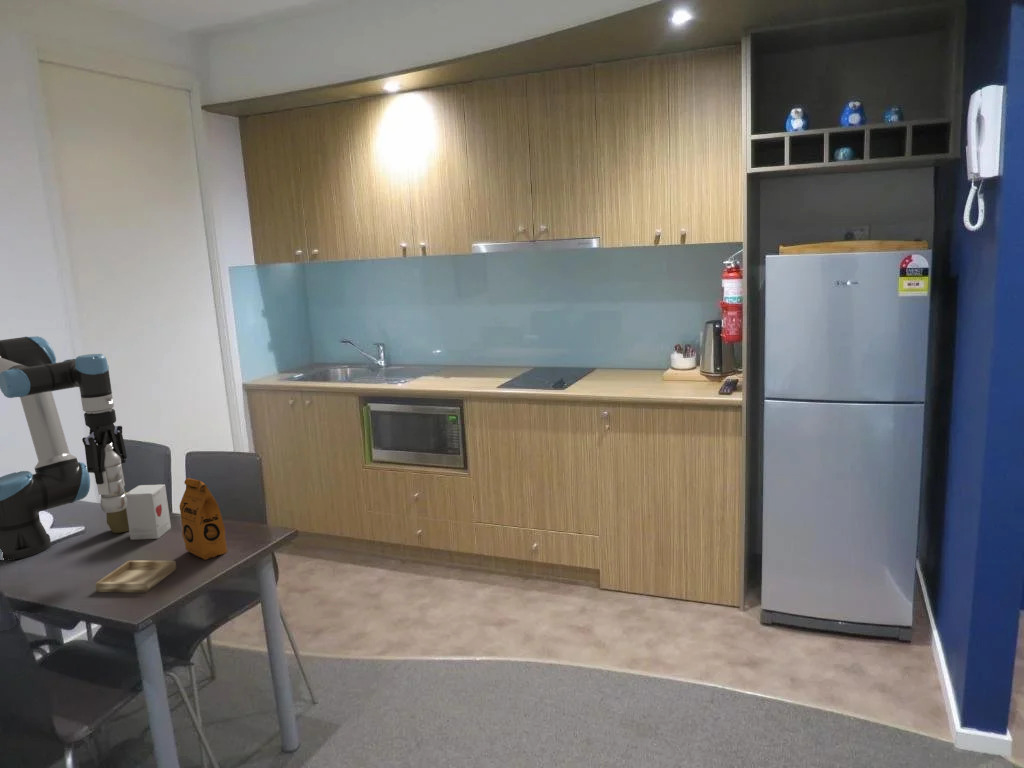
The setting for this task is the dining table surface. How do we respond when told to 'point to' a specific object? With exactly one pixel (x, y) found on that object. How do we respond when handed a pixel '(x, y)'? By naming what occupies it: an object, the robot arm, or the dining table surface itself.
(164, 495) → the supplement box
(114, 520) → the squeeze bottle
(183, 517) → the coffee package
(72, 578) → the dining table surface
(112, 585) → the bamboo tray
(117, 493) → the plastic bottle
